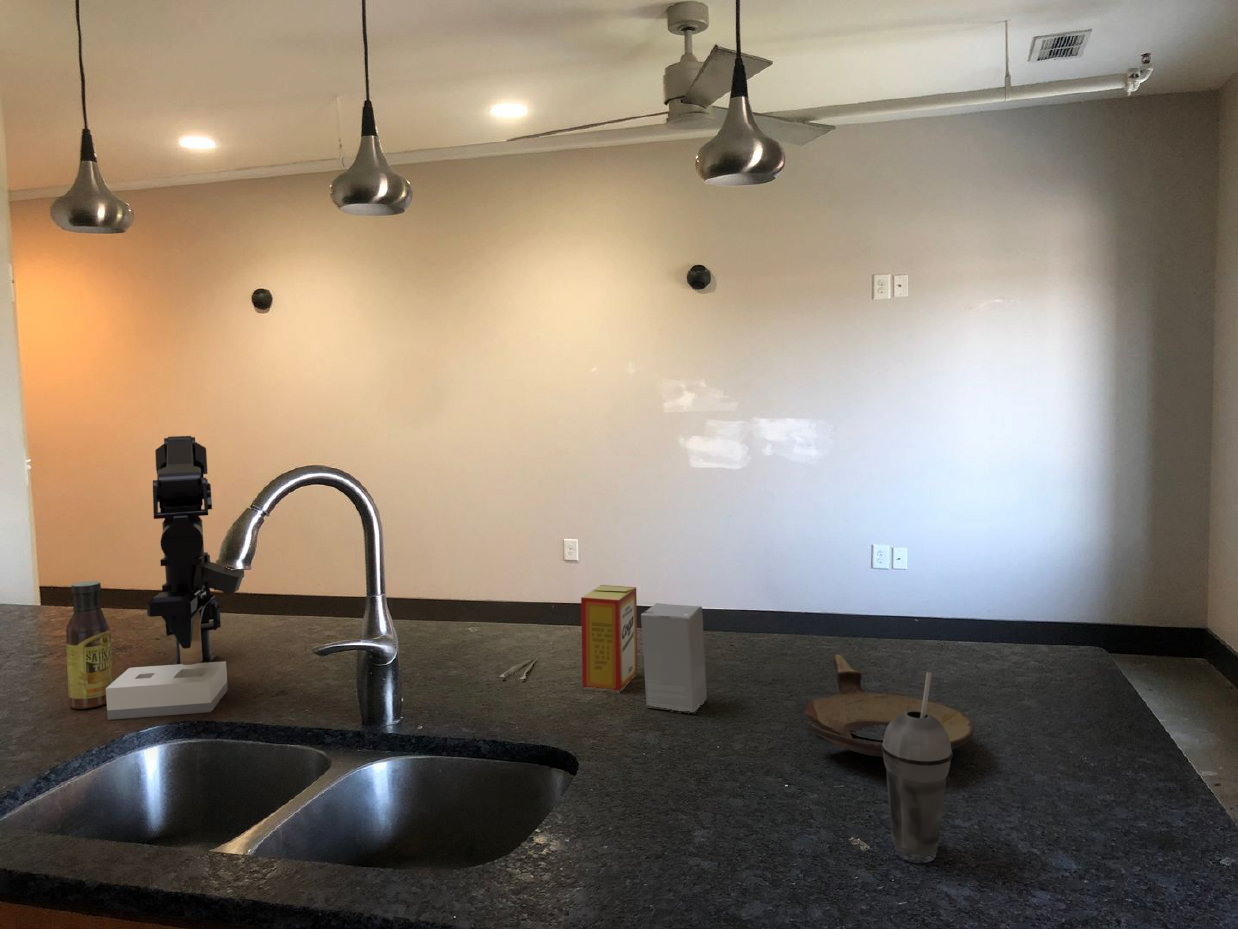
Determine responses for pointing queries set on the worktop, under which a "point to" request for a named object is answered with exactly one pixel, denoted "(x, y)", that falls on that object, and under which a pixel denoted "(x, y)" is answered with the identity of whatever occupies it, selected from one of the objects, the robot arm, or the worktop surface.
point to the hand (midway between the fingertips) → (190, 645)
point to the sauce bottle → (88, 648)
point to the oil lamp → (873, 713)
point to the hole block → (166, 690)
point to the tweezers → (516, 668)
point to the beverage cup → (916, 777)
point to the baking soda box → (609, 636)
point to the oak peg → (193, 645)
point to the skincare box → (674, 657)
